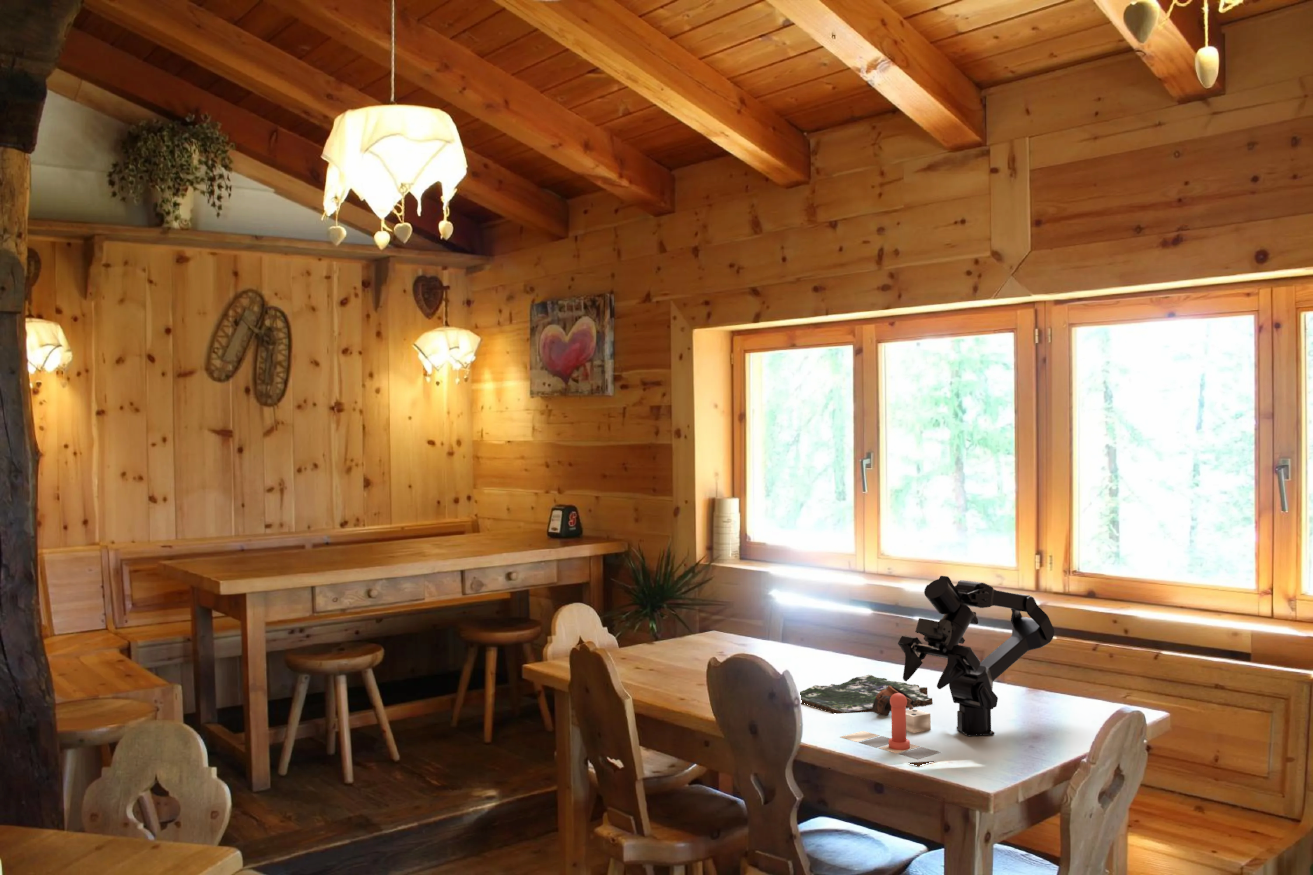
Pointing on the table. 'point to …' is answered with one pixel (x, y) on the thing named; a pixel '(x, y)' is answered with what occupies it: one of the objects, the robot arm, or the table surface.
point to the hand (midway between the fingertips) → (921, 683)
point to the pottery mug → (888, 701)
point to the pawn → (898, 722)
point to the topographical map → (858, 694)
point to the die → (917, 721)
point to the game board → (882, 741)
